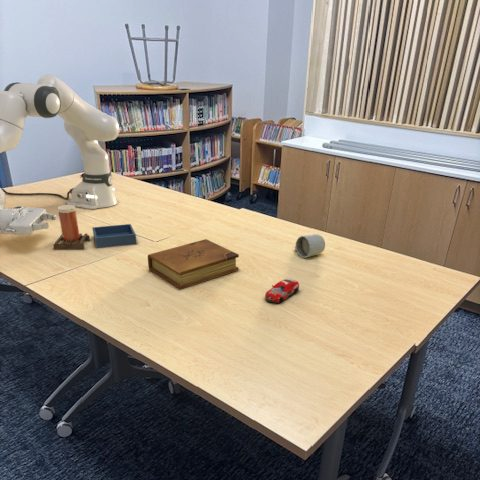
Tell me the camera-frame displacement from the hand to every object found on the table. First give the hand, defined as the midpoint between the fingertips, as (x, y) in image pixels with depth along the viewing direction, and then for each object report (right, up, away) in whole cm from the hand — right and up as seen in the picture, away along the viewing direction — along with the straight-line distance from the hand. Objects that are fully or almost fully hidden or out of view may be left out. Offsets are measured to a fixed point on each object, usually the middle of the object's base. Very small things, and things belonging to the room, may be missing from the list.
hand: (51, 221), depth 171 cm
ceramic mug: (+92, -12, 0) cm, 92 cm away
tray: (+20, -5, +9) cm, 23 cm away
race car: (+80, -28, -29) cm, 90 cm away
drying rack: (+6, -8, +5) cm, 11 cm away
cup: (+6, -5, +3) cm, 9 cm away
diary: (+52, -19, -14) cm, 57 cm away
